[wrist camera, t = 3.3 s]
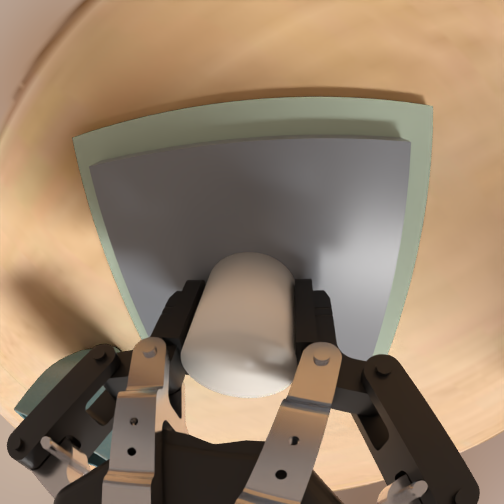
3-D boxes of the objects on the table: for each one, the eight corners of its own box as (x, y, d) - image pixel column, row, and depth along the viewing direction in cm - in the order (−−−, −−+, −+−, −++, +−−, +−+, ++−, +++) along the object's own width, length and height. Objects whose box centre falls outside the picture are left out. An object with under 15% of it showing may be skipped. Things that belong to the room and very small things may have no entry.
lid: (401, 137, 10) (477, 178, 5) (365, 357, 16) (377, 432, 12) (100, 160, 11) (18, 207, 7) (167, 354, 18) (141, 421, 13)
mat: (426, 105, 9) (432, 105, 9) (380, 361, 17) (382, 368, 17) (79, 135, 11) (72, 137, 11) (157, 359, 19) (154, 365, 19)
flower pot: (57, 334, 21) (10, 409, 13) (116, 322, 18) (59, 428, 10) (115, 393, 24) (85, 463, 17) (181, 393, 22) (154, 485, 14)
